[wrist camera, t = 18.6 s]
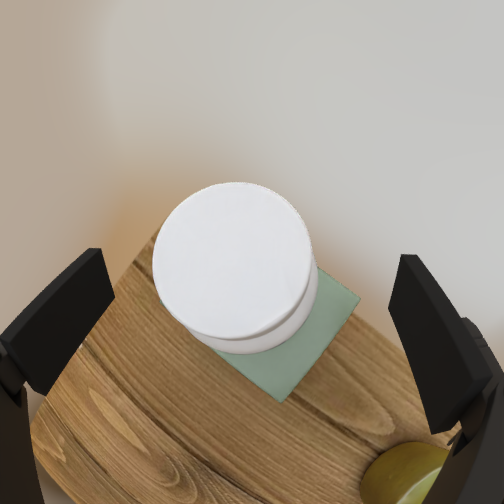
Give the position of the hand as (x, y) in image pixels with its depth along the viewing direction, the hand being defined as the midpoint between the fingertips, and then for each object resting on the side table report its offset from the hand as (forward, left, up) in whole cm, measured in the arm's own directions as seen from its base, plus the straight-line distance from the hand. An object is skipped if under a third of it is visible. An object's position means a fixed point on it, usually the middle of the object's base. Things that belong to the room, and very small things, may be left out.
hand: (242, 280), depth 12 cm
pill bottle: (0, 0, -6) cm, 6 cm away
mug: (+21, -13, -15) cm, 29 cm away
